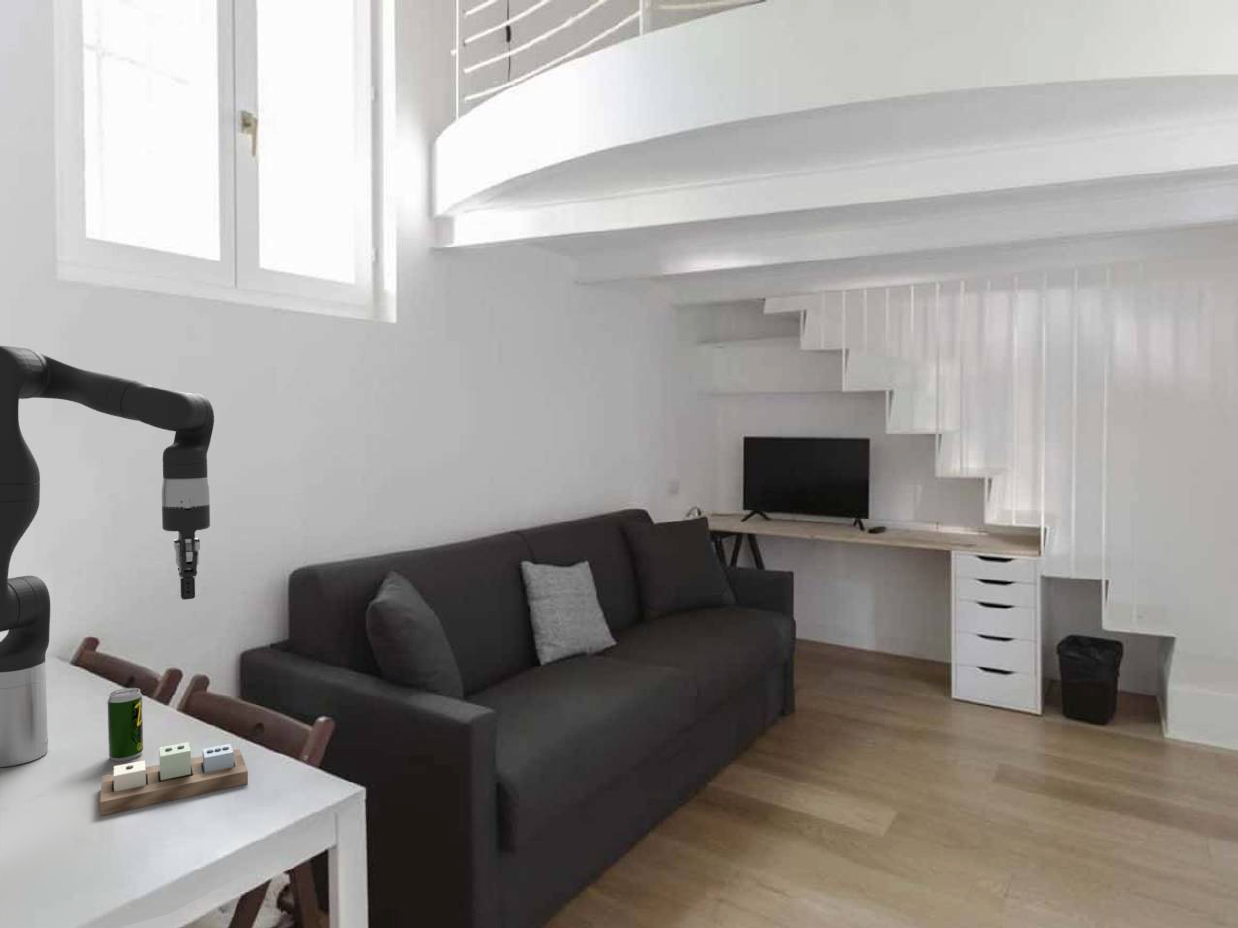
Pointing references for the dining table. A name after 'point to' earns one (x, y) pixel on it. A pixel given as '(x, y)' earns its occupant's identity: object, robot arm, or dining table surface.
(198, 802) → the dining table surface
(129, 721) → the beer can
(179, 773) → the two dot key
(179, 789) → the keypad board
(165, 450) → the robot arm
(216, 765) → the three dot key
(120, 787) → the one dot key
